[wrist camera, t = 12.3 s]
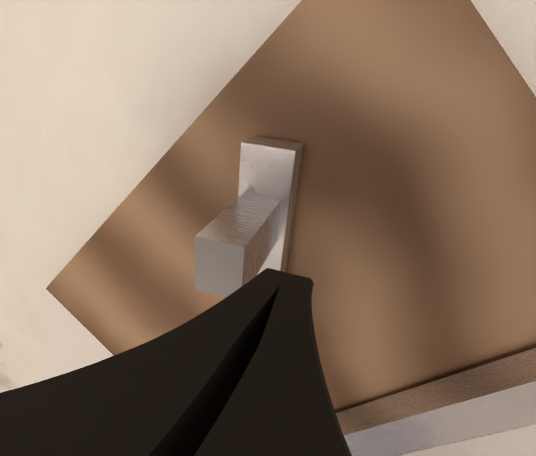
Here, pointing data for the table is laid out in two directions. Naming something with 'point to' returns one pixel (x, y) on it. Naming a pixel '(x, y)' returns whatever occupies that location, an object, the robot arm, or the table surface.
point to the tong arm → (251, 219)
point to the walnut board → (351, 197)
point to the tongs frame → (446, 409)
